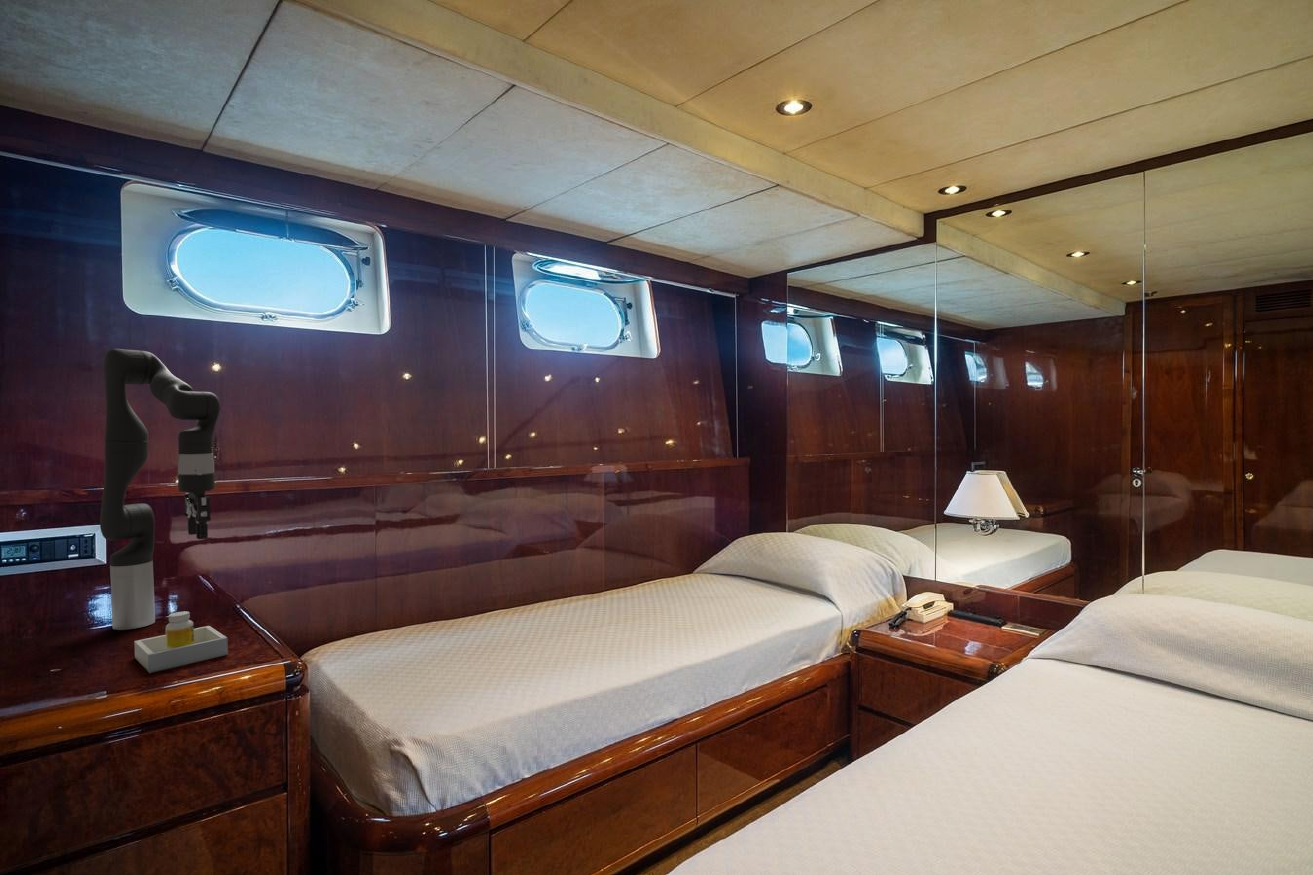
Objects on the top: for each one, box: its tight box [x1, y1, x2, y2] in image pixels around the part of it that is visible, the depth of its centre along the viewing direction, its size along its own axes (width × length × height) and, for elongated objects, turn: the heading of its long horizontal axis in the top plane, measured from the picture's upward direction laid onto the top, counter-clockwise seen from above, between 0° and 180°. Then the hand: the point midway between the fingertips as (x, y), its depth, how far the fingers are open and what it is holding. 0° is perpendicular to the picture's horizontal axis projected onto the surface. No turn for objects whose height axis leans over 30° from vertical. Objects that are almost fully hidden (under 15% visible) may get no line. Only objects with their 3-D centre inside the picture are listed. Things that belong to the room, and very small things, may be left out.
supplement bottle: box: [165, 610, 195, 650], centre depth 157 cm, size 5×5×10 cm
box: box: [134, 625, 229, 674], centre depth 157 cm, size 15×15×4 cm
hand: (197, 536), depth 167 cm, fingers open, 8 cm apart
